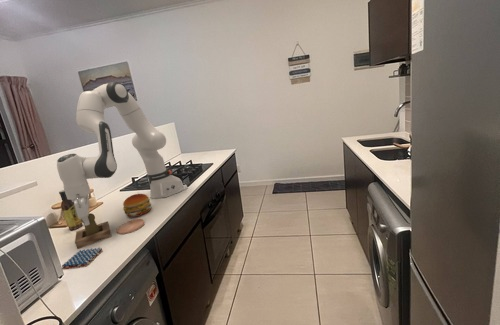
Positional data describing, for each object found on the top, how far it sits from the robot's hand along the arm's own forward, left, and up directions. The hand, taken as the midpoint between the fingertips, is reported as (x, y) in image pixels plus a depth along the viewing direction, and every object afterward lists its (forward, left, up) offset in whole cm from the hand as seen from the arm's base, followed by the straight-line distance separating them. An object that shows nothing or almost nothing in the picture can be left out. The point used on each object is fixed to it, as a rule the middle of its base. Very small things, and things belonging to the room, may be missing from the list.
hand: (87, 221), depth 115 cm
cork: (0, 0, -8) cm, 8 cm away
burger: (-21, -12, -8) cm, 26 cm away
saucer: (-15, +4, -8) cm, 18 cm away
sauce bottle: (+8, -22, -8) cm, 25 cm away
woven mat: (+4, +19, -9) cm, 21 cm away
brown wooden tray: (0, 0, -8) cm, 8 cm away
